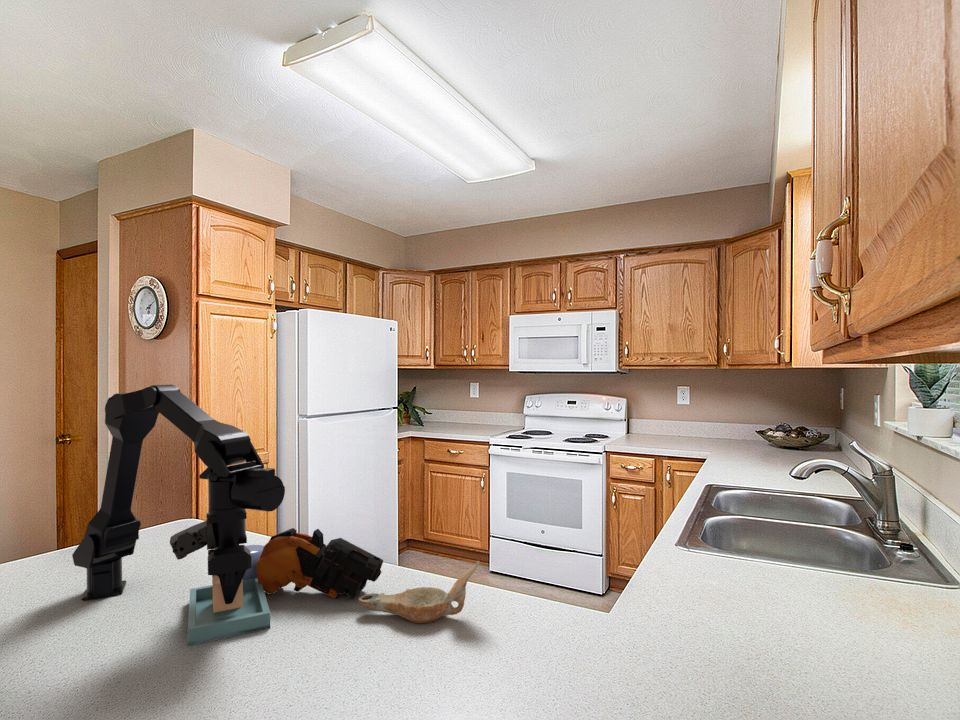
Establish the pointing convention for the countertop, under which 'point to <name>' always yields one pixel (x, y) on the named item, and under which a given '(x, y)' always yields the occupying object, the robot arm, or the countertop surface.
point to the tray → (226, 614)
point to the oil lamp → (421, 601)
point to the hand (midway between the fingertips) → (228, 597)
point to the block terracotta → (219, 598)
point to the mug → (252, 561)
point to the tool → (315, 564)
